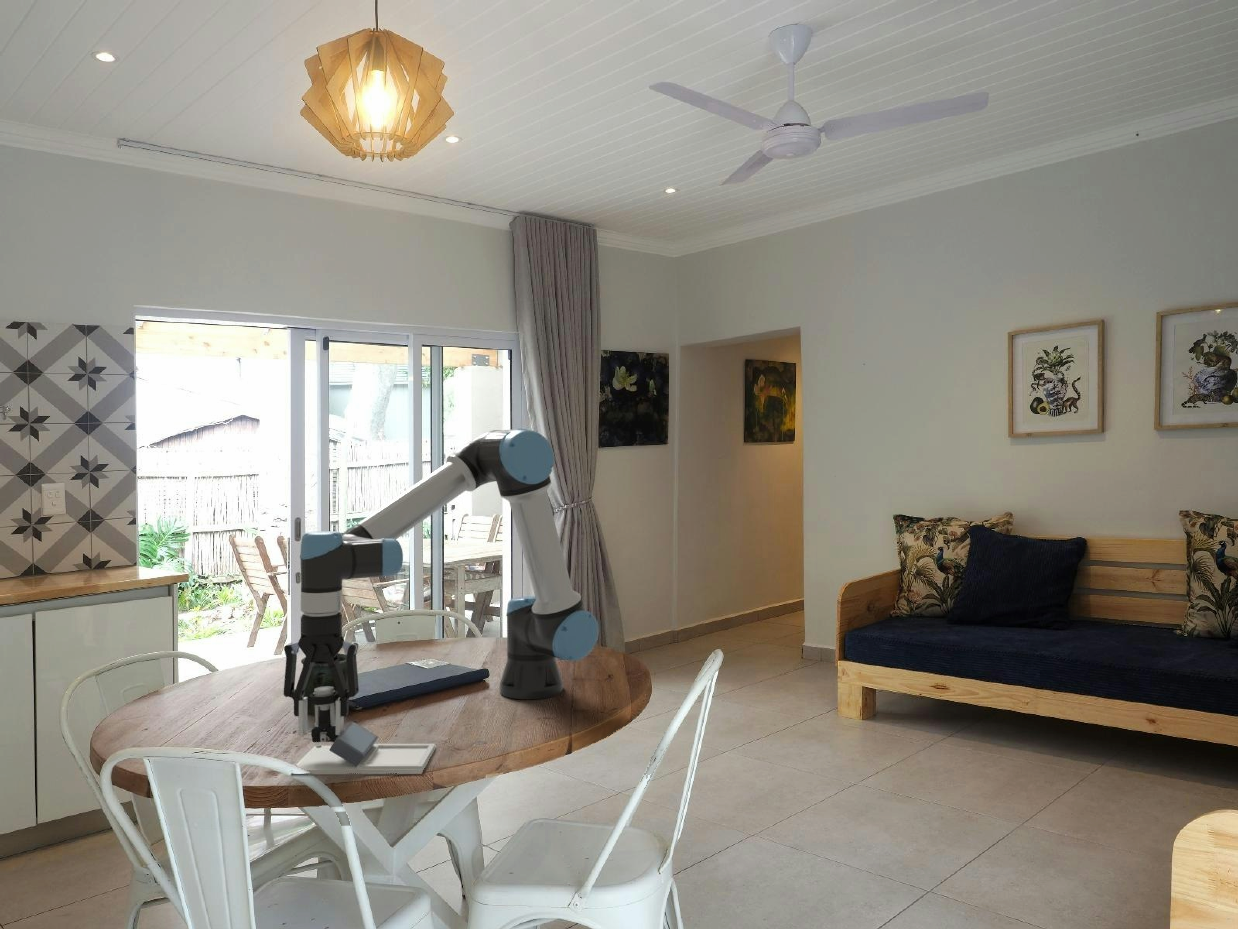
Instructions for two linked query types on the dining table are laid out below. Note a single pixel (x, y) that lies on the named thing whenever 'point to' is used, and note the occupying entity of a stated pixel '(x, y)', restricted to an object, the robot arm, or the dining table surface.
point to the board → (370, 760)
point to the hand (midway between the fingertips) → (321, 732)
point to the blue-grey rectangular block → (353, 743)
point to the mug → (322, 680)
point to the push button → (324, 714)
